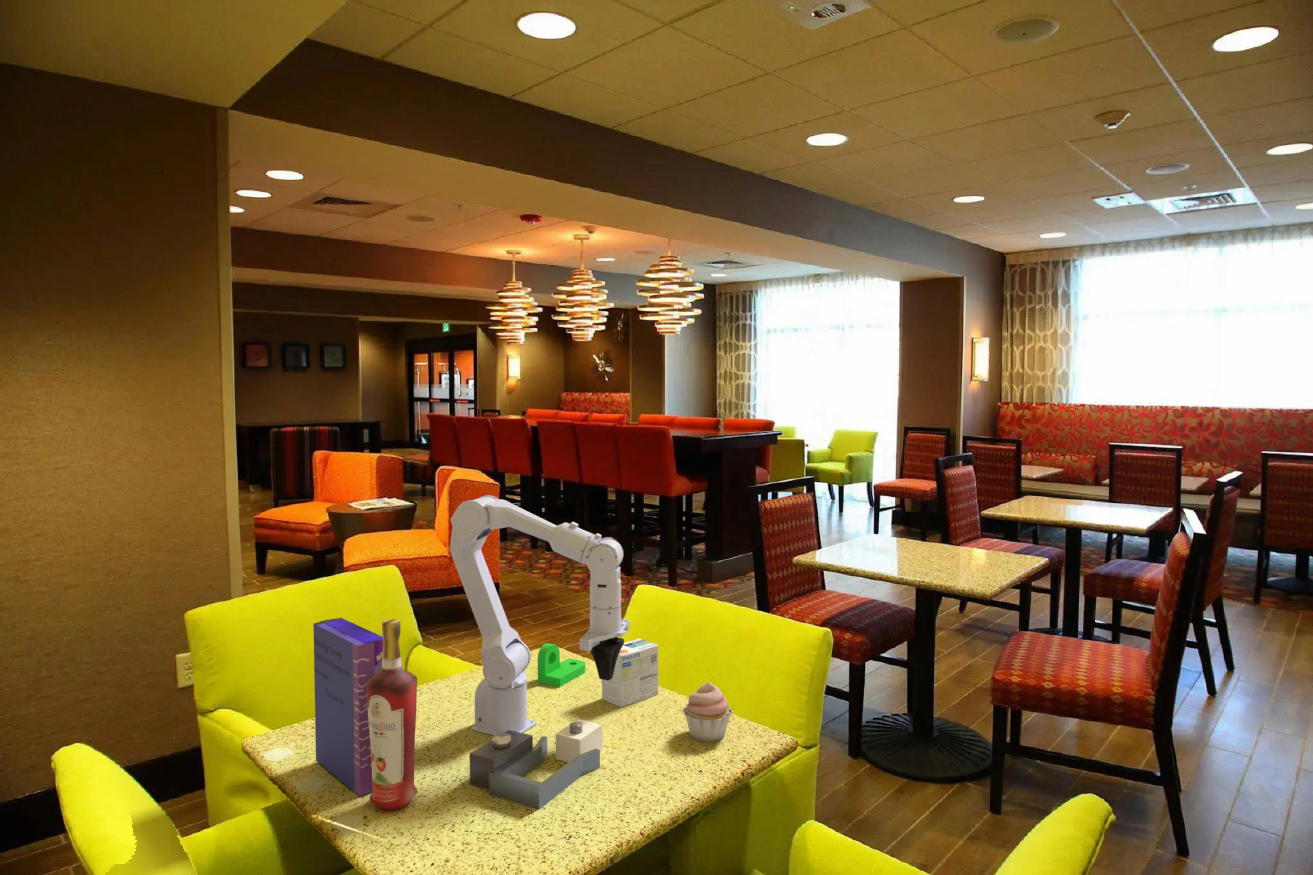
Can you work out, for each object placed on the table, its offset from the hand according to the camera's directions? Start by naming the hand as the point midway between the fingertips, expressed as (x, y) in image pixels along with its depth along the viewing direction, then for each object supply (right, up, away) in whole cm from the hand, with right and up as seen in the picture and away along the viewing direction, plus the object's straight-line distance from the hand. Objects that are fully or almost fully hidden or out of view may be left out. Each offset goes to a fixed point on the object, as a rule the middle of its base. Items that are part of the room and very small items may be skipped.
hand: (605, 678), depth 140 cm
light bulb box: (+4, -10, +19) cm, 22 cm away
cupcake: (+19, -11, 0) cm, 22 cm away
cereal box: (-41, -11, -14) cm, 45 cm away
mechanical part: (-11, -10, +31) cm, 35 cm away
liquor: (-31, -12, -24) cm, 41 cm away
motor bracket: (-11, -11, -16) cm, 22 cm away
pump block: (-4, -11, -7) cm, 14 cm away
